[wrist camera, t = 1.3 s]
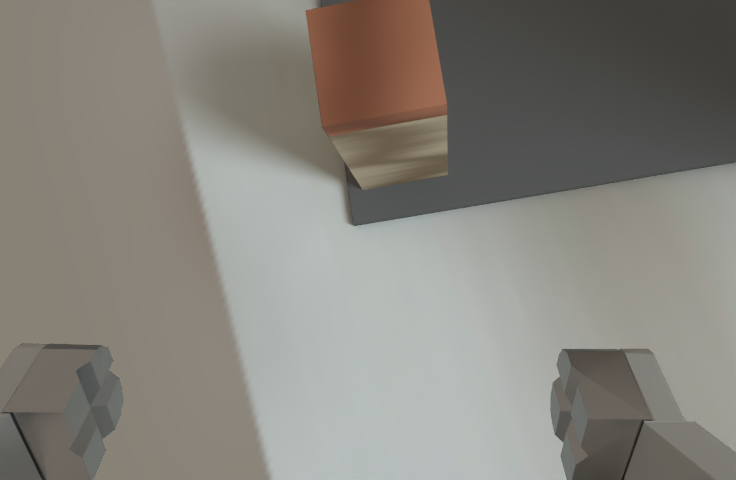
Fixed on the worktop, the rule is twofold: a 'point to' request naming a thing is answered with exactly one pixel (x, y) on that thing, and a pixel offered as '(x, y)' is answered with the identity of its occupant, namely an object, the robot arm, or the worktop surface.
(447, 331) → the worktop surface
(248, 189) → the worktop surface
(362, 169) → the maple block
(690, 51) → the charcoal mat
